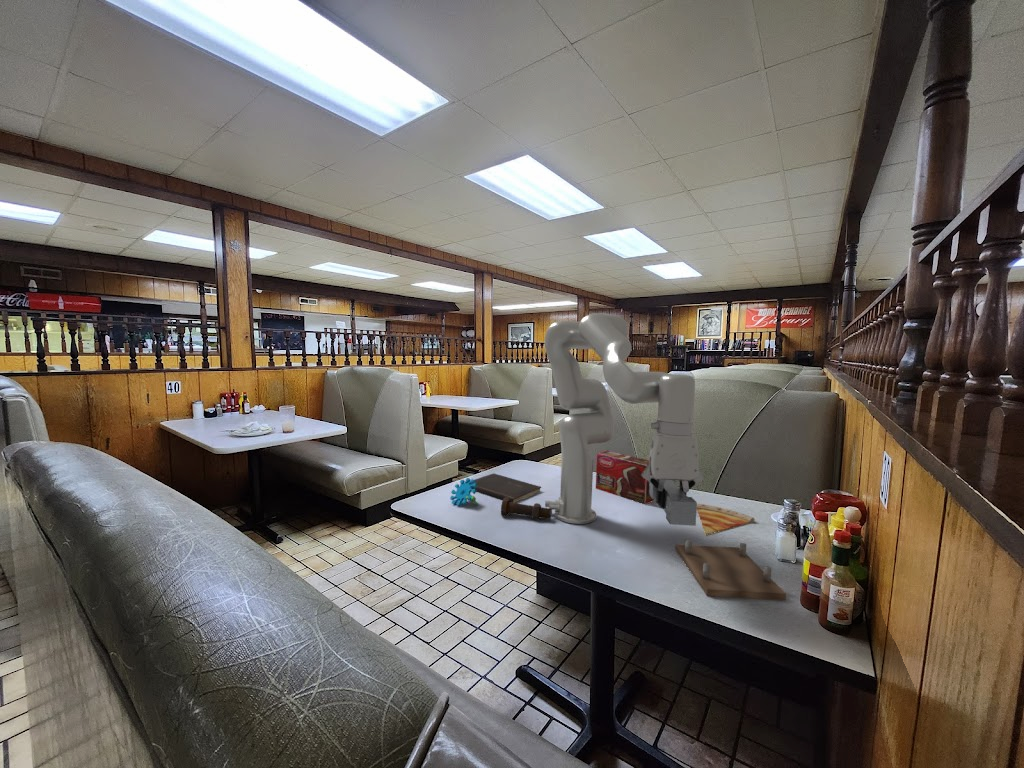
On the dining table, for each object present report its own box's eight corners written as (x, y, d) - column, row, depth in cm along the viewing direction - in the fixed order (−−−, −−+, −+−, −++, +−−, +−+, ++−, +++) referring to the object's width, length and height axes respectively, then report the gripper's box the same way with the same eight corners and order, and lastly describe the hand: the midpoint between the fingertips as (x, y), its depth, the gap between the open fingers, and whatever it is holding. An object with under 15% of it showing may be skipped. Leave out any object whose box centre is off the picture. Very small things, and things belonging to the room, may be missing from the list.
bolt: (550, 527, 124) (501, 519, 128) (553, 513, 128) (506, 506, 132) (549, 514, 121) (499, 506, 124) (552, 501, 125) (504, 493, 128)
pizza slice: (661, 516, 130) (662, 510, 130) (709, 505, 140) (709, 499, 140) (705, 537, 116) (705, 530, 116) (754, 523, 127) (755, 517, 126)
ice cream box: (595, 488, 153) (597, 453, 152) (605, 485, 158) (607, 450, 156) (644, 504, 139) (646, 465, 137) (654, 500, 143) (656, 462, 142)
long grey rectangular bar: (670, 524, 88) (671, 501, 87) (649, 494, 106) (650, 475, 105) (695, 525, 87) (696, 502, 87) (670, 495, 105) (671, 476, 105)
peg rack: (706, 595, 88) (708, 575, 87) (675, 549, 108) (676, 533, 107) (785, 600, 87) (787, 579, 86) (739, 553, 107) (740, 536, 106)
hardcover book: (493, 478, 163) (493, 473, 163) (541, 493, 149) (541, 486, 149) (463, 489, 151) (463, 483, 151) (512, 505, 137) (512, 498, 136)
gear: (444, 495, 138) (464, 472, 141) (454, 504, 142) (474, 481, 144) (460, 510, 130) (481, 485, 132) (470, 520, 133) (491, 495, 136)
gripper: (641, 430, 92) (637, 511, 93) (719, 433, 90) (714, 515, 92) (634, 424, 99) (630, 499, 101) (706, 426, 98) (701, 502, 99)
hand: (670, 506), depth 96 cm, fingers closed on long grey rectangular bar, 3 cm apart
